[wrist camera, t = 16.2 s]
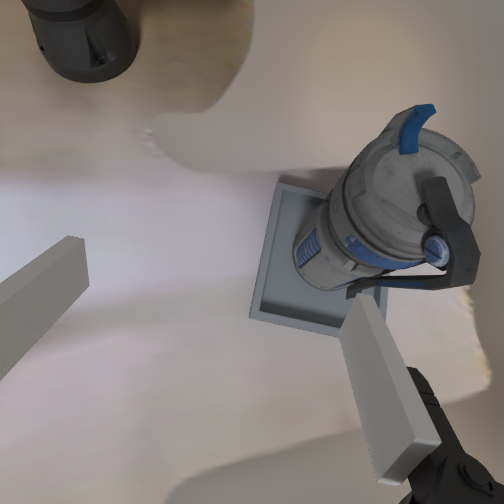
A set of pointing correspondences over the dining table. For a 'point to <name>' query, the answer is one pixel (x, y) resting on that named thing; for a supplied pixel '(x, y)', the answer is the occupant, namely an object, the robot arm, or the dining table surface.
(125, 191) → the dining table surface
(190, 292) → the dining table surface
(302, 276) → the beverage bottle
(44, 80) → the dining table surface
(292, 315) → the tray
